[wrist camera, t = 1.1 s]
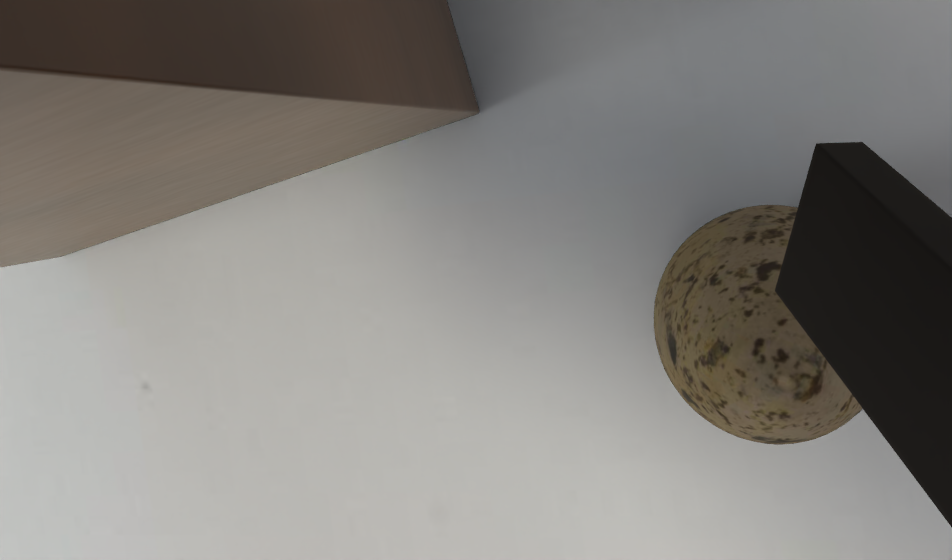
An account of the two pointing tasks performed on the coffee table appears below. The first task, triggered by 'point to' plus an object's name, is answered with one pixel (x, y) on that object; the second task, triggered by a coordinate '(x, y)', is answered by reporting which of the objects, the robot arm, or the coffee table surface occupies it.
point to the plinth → (201, 104)
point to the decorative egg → (744, 334)
